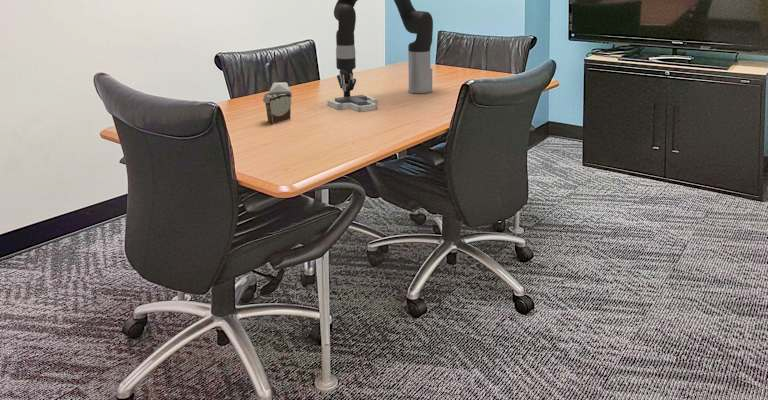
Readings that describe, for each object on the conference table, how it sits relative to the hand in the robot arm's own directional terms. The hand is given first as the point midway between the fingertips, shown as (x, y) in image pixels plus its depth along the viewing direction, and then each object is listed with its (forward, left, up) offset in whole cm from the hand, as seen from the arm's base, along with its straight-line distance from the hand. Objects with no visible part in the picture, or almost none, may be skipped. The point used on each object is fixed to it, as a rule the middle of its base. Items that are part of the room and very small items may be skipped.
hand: (347, 100), depth 301 cm
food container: (+36, +13, -1) cm, 38 cm away
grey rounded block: (+22, -16, -1) cm, 27 cm away
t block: (0, +8, -1) cm, 8 cm away
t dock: (0, +8, -1) cm, 8 cm away
